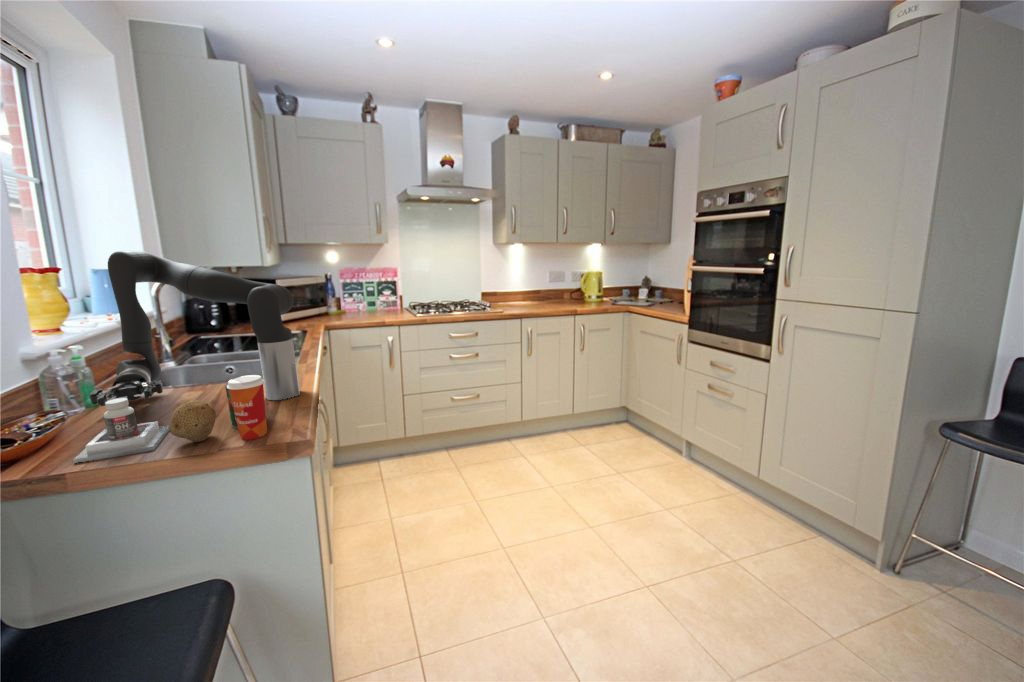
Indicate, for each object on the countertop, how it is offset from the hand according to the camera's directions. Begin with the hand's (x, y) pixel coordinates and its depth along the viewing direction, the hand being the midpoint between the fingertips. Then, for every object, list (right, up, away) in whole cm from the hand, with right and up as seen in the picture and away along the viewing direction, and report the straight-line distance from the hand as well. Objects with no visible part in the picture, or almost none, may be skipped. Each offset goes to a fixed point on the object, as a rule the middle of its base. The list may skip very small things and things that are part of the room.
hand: (124, 398), depth 114 cm
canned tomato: (+28, -7, +5) cm, 29 cm away
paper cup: (+34, -9, -4) cm, 35 cm away
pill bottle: (+6, -9, -7) cm, 13 cm away
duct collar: (+6, -10, -7) cm, 13 cm away
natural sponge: (+22, -10, -6) cm, 25 cm away
